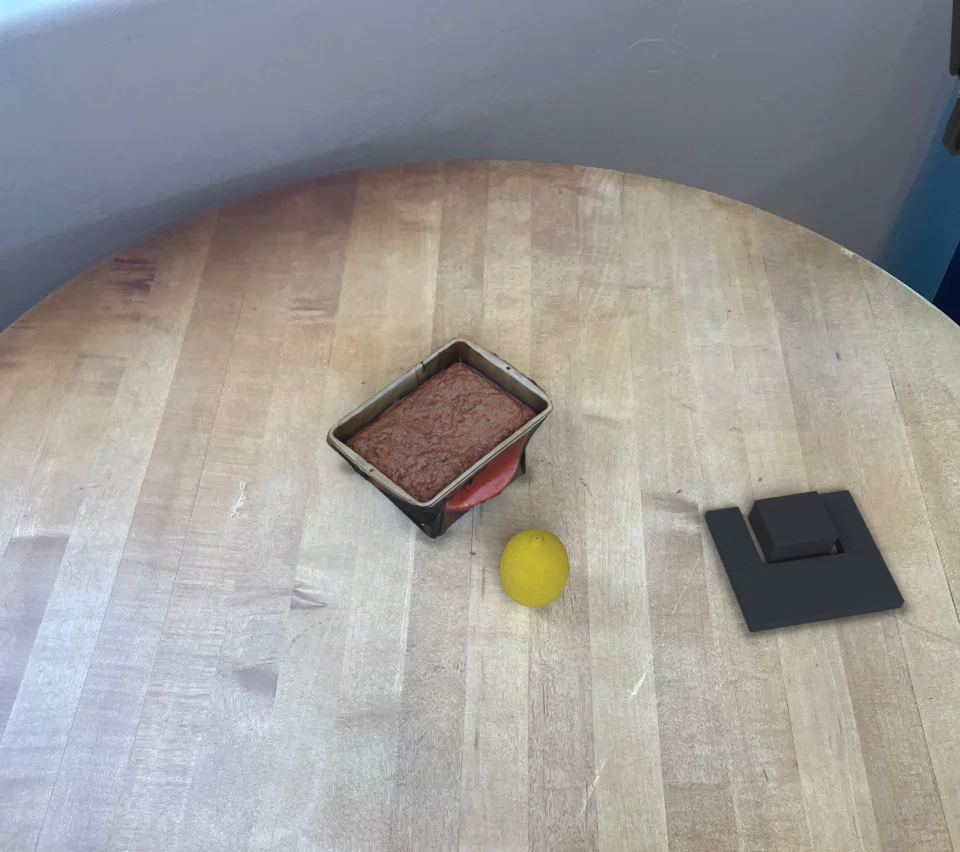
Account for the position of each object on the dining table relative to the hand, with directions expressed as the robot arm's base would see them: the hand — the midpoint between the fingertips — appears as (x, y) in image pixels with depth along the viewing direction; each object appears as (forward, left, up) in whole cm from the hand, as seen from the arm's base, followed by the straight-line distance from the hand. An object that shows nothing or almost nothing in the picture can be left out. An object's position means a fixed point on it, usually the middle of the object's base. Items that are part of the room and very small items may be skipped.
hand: (956, 148), depth 77 cm
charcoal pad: (+14, +21, -23) cm, 34 cm away
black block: (+14, +18, -23) cm, 32 cm away
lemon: (+37, +20, -23) cm, 48 cm away
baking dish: (+42, +5, -23) cm, 48 cm away
